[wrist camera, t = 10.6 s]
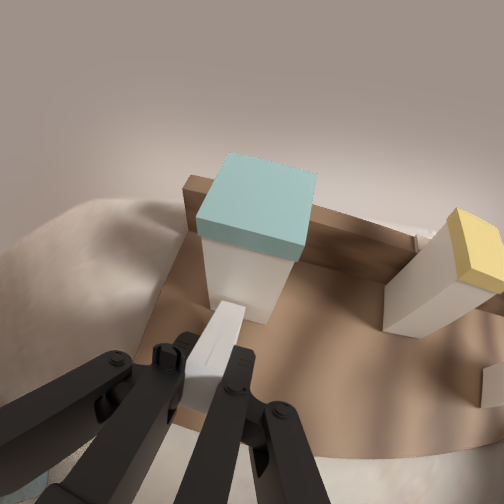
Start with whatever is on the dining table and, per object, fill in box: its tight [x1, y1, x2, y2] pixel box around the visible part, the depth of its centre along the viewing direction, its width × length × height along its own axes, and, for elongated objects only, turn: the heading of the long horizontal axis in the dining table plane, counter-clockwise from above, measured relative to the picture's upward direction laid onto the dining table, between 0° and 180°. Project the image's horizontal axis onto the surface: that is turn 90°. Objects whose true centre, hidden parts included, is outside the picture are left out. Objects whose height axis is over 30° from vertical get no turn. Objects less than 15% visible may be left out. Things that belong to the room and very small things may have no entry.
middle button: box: [383, 207, 504, 339], centre depth 16 cm, size 4×4×10 cm
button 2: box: [196, 152, 316, 325], centre depth 16 cm, size 4×4×10 cm
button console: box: [133, 175, 504, 459], centre depth 16 cm, size 38×16×6 cm, turn 75°
